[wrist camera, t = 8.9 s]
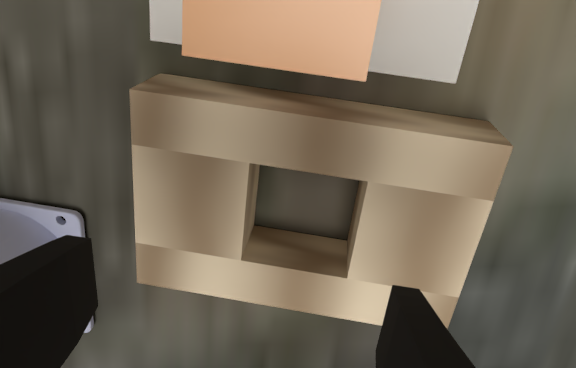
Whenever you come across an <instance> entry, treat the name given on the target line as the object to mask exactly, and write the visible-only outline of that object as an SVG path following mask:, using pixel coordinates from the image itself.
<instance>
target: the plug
mask: <svg viewBox="0 0 576 368" xmlns="http://www.w3.org/2000/svg"><path fill="white" fill-rule="evenodd" d="M381 1H382V0H183V3H182V56H189V57H196V58H203V59H210V60H217V61H224V62H231V63H238V64H245V65H252V66H259V67H266V68H272V69H279V70H286V71H293V72H300V73H307V74H314V75H321V76H328V77H335V78H342V79H349V80H356V81H363V82H366V78H367V73H368V68H369V63H370V57H371V52H372V47H373V42H374V37H375V32H376V27H377V21H378V16H379V11H380V6H381Z"/></svg>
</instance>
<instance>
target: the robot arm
mask: <svg viewBox="0 0 576 368" xmlns="http://www.w3.org/2000/svg"><path fill="white" fill-rule="evenodd" d="M61 216H62V217H64V218H65V220H66V221H65V220H63V219H62V218H61ZM97 307H98V299H97V290H96V281H95V271H94V262H93V253H92V243H91V238H85V229H84V220H83V217H82V215H81V214H80V213H79V212H77V211H74V210H70V209H64V208H58V207H52V206H46V205H40V204H34V203H28V202H22V201H16V200H10V199H4V198H0V368H60V367H61V366H62V364H63V363H64V362H65V360H66V359H67V358H68V356H69V355H70V353H71V352H72V350H73V349H74V348H75V346H76V345H77V343H78V342H79V340H80V338H81V336H82V335H83V333H87V332H90V330H91V329H92V328H93V326H94V320H93V314H94V312H95V311H96V309H97ZM376 368H475V366H474V365H473V364H472V362H471V361H470V360H469V358H468V357H467V356H466V354H465V353H464V352H463V350H462V349H461V348H460V346H459V345H458V344H457V342H456V341H455V340H454V338H453V337H452V335H451V334H450V333H449V331H448V330H447V328H446V327H445V325H444V324H443V323H442V321H441V320H440V318H439V317H438V315H437V314H436V312H435V311H434V309H433V308H432V306H431V305H430V303H429V302H428V301H427V299H426V298H425V296H424V295H423V293H422V292H421V291H420V289H417V288H410V287H404V286H397V285H392V289H391V292H390V296H389V300H388V304H387V308H386V312H385V316H384V320H383V324H382V328H381V332H380V336H379V340H378V344H377V348H376Z"/></svg>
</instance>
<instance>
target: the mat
mask: <svg viewBox="0 0 576 368" xmlns="http://www.w3.org/2000/svg"><path fill="white" fill-rule="evenodd" d="M149 1H150V40H152V41H159V42H167V43H174V44H181V45H182V3H183V0H149ZM478 3H479V0H382V1H381V6H380V11H379V16H378V21H377V27H376V32H375V37H374V42H373V47H372V52H371V57H370V63H369V68H368V71H370V72H377V73H384V74H391V75H398V76H405V77H413V78H420V79H427V80H434V81H441V82H448V83H455V84H456V81H457V77H458V73H459V70H460V66H461V63H462V59H463V56H464V52H465V49H466V45H467V42H468V38H469V35H470V31H471V28H472V24H473V20H474V17H475V13H476V10H477V6H478Z"/></svg>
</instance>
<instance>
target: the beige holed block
mask: <svg viewBox="0 0 576 368" xmlns="http://www.w3.org/2000/svg"><path fill="white" fill-rule="evenodd" d="M129 91H130V116H131V141H132V166H133V191H134V216H135V241H136V266H137V283H142V284H148V285H153V286H159V287H165V288H170V289H176V290H182V291H187V292H193V293H199V294H205V295H210V296H216V297H222V298H227V299H233V300H239V301H244V302H250V303H256V304H262V305H267V306H273V307H279V308H284V309H290V310H296V311H301V312H307V313H313V314H319V315H324V316H330V317H336V318H341V319H347V320H353V321H358V322H364V323H370V324H376V325H381V326H382V324H383V320H384V316H385V312H386V308H387V304H388V300H389V296H390V292H391V289H392V285H397V286H404V287H410V288H417V289H420V291H421V292H422V293H423V295H424V296H425V298H426V299H427V301H428V302H429V303H430V305H431V306H432V308H433V309H434V311H435V312H436V314H437V315H438V317H439V318H440V320H441V321H442V323H443V324H444V325H445V327H446V328H448V326H449V323H450V320H451V317H452V314H453V312H454V309H455V306H456V303H457V301H458V298H459V295H460V292H461V290H462V287H463V284H464V281H465V279H466V276H467V273H468V270H469V268H470V265H471V262H472V259H473V257H474V254H475V251H476V248H477V246H478V243H479V240H480V237H481V235H482V232H483V229H484V226H485V223H486V221H487V218H488V215H489V212H490V210H491V207H492V204H493V201H494V199H495V196H496V193H497V190H498V188H499V185H500V182H501V179H502V177H503V174H504V171H505V168H506V166H507V163H508V160H509V157H510V155H511V152H512V149H513V146H512V145H511V143H510V142H509V141H508V140H507V139H506V138H505V137H504V136H503V135H502V134H501V133H500V132H499V131H498V130H497V129H496V128H495V127H494V126H493V125H492V124H491V123H490V122H489V121H483V120H477V119H470V118H463V117H456V116H449V115H442V114H436V113H429V112H422V111H415V110H408V109H401V108H395V107H388V106H381V105H374V104H367V103H361V102H354V101H347V100H340V99H333V98H326V97H320V96H313V95H306V94H299V93H292V92H285V91H279V90H272V89H265V88H258V87H251V86H245V85H238V84H231V83H224V82H217V81H210V80H204V79H197V78H190V77H183V76H176V75H169V74H163V73H159V74H158V75H156V76H154V77H152V78H150V79H148V80H146V81H144V82H142V83H140V84H138V85H136V86H134V87H133V88H131V89H129ZM260 165H266V166H272V167H278V168H285V169H291V170H297V171H304V172H310V173H317V174H323V175H329V176H336V177H342V178H348V179H355V180H360V181H359V186H358V191H357V195H356V200H355V205H354V210H353V215H352V219H351V224H350V229H349V234H348V239H347V241H346V240H340V239H334V238H328V237H322V236H316V235H310V234H304V233H298V232H292V231H286V230H280V229H274V228H268V227H261V226H255V225H254V221H255V211H256V201H257V190H258V180H259V170H260Z"/></svg>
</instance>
